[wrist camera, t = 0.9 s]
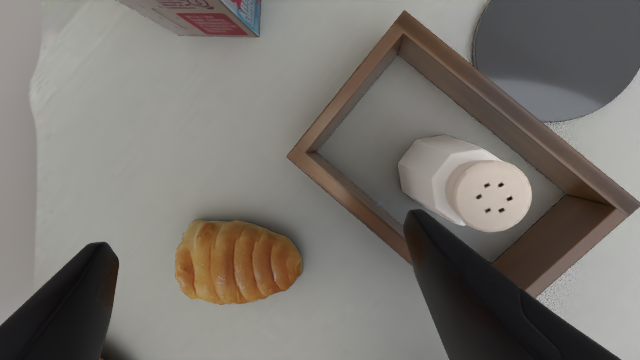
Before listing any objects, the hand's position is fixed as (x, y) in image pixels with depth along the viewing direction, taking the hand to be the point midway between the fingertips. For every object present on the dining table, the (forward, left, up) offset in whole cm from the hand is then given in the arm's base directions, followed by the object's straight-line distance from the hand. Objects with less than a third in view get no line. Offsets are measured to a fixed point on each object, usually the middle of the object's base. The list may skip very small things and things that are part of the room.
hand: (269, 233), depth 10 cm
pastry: (+2, +10, -15) cm, 18 cm away
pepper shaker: (-5, -5, -15) cm, 17 cm away
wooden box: (-5, -5, -14) cm, 16 cm away
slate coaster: (-5, -16, -14) cm, 23 cm away
